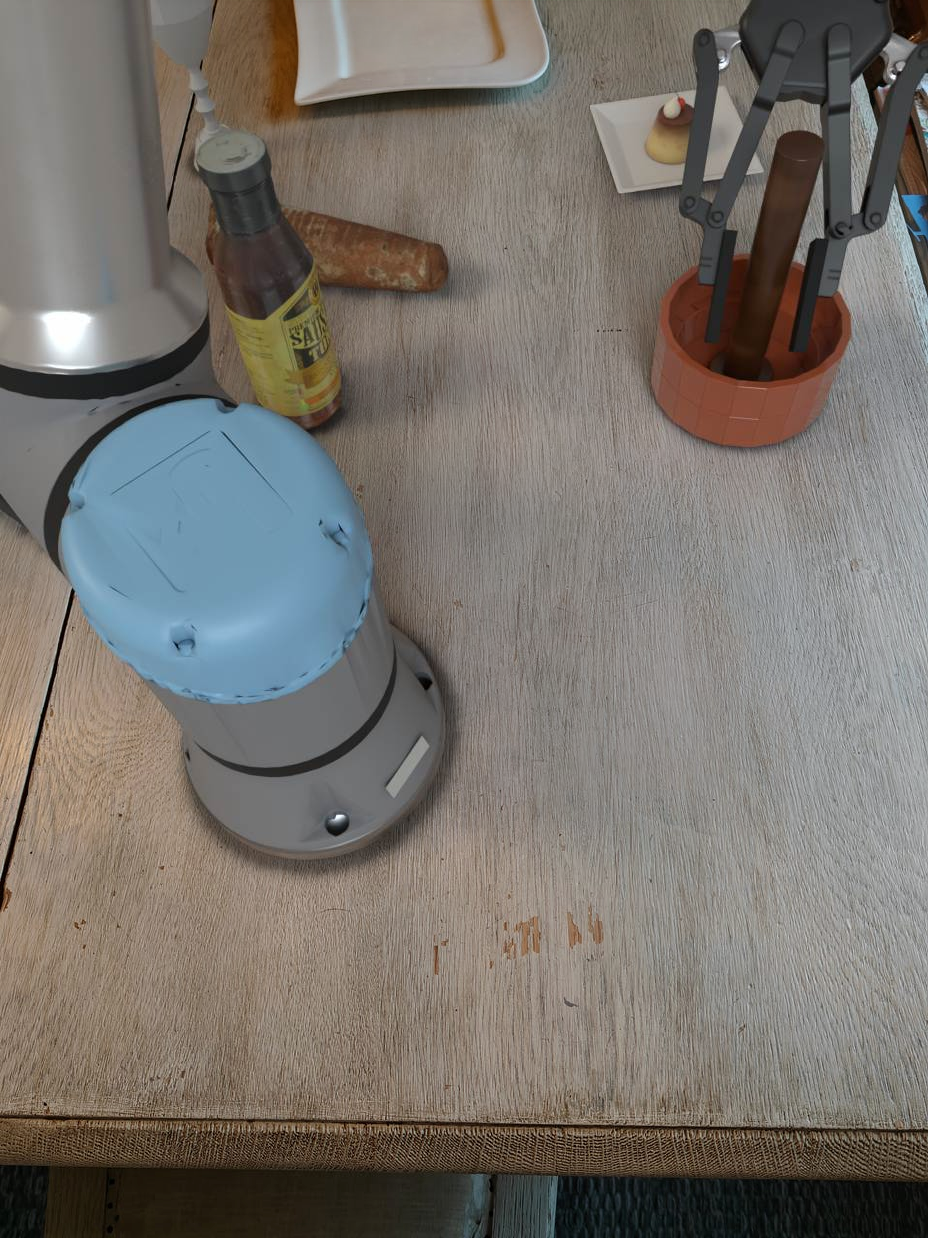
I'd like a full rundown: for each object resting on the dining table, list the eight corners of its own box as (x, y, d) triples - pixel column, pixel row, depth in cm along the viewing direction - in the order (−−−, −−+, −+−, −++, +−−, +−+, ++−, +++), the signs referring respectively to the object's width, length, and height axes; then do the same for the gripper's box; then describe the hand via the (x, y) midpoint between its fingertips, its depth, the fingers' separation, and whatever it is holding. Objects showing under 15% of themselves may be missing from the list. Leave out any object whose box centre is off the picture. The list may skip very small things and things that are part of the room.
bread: (239, 235, 80) (220, 175, 75) (458, 268, 76) (453, 207, 71) (209, 287, 77) (187, 228, 72) (435, 324, 73) (428, 265, 68)
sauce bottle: (333, 439, 68) (264, 197, 51) (250, 429, 69) (155, 189, 52) (356, 371, 71) (298, 121, 54) (277, 363, 72) (195, 114, 55)
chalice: (201, 194, 83) (123, -31, 67) (169, 155, 86) (87, -69, 70) (275, 160, 84) (216, -67, 68) (241, 123, 87) (177, -103, 71)
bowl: (623, 419, 67) (631, 352, 62) (686, 306, 72) (699, 234, 67) (792, 477, 64) (817, 412, 58) (847, 354, 69) (874, 283, 63)
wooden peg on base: (698, 389, 67) (747, 158, 52) (720, 347, 69) (774, 111, 53) (759, 409, 66) (828, 179, 50) (780, 366, 68) (853, 130, 52)
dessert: (722, 96, 84) (732, 42, 80) (761, 183, 78) (774, 129, 74) (588, 116, 84) (591, 62, 80) (617, 205, 78) (621, 151, 74)
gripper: (982, -53, 55) (887, 362, 62) (674, -66, 58) (616, 332, 65) (1029, -112, 48) (915, 364, 55) (675, -124, 51) (609, 330, 58)
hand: (753, 346), depth 60 cm, fingers open, 5 cm apart
